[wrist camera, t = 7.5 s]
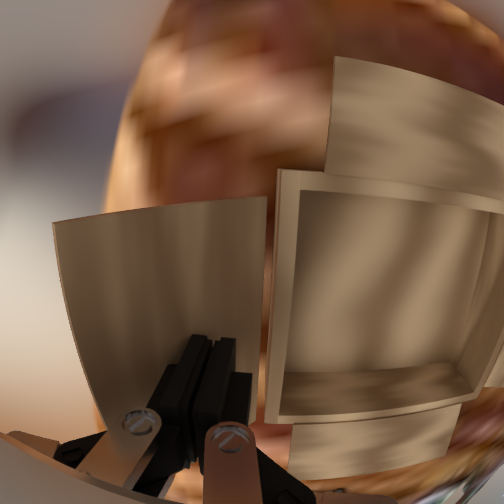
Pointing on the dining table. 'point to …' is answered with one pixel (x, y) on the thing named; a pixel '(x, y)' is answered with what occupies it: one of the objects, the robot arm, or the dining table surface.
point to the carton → (387, 274)
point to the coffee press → (340, 491)
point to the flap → (161, 291)
